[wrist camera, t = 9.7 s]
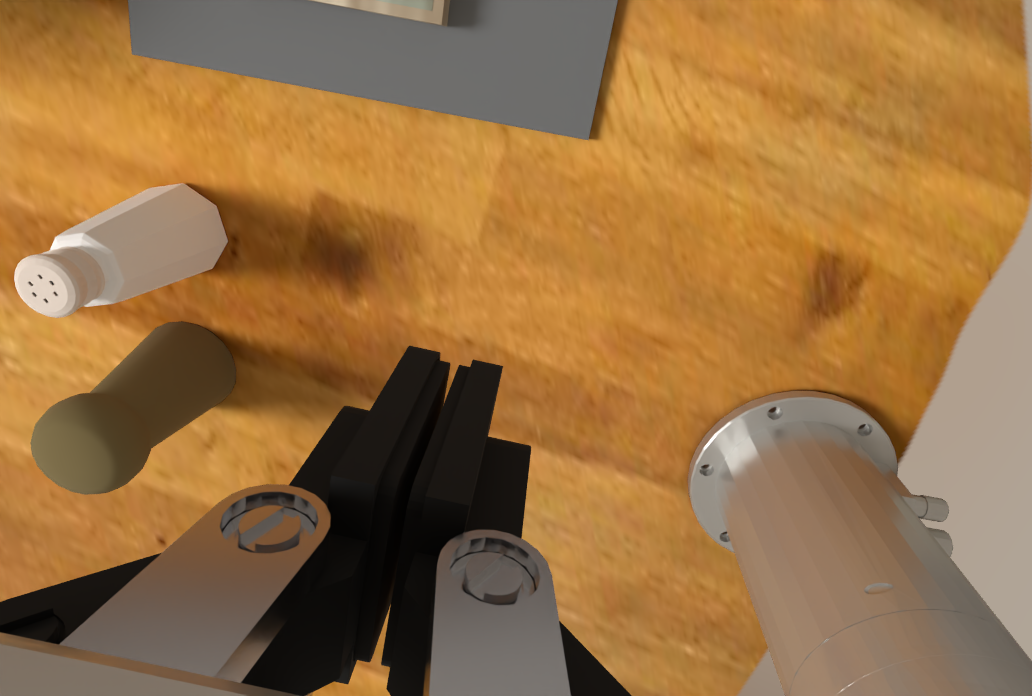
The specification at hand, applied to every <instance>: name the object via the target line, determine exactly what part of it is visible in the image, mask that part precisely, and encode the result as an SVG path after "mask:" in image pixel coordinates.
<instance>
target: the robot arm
mask: <svg viewBox="0 0 1032 696" xmlns="http://www.w3.org/2000/svg"><path fill="white" fill-rule="evenodd" d="M502 368H503V366H500V365H495V364H491V363H486V362H482V361H477V360H473V361H472V364H471V366H470V367H467V366H462V365H459V367H458V369H457V372H456V374H455V377H454V380H453V382H452V385H451V387H450V390H449V392H448V395H447V398H446V400H445V403H444V398H445V393H446V387H447V381H448V376H449V370H450V363H448V362H444V361H440V352H436V351H431V350H427V349H422V348H418V347H413V346H409V347H408V348H407V350H406V352H405V353H404V355H403V356H402V358H401V360H400V361H399V363H398V365H397V366H396V368H395V370H394V371H393V373H392V375H391V376H390V378H389V380H388V381H387V383H386V385H385V386H384V388H383V390H382V391H381V393H380V395H379V396H378V398H377V400H376V401H375V403H374V405H373V406H372V408H371V410H370V411H368V410H364V409H359V408H355V407H350V406H344V407H343V408H342V409H341V411H340V412H339V413H338V415H337V416H336V418H335V419H334V421H333V422H332V424H331V425H330V426H329V428H328V429H327V431H326V432H325V434H324V435H323V437H322V438H321V439H320V441H319V442H318V444H317V445H316V447H315V448H314V450H313V451H312V453H311V454H310V455H309V457H308V458H307V460H306V461H305V463H304V464H303V466H302V467H301V468H300V470H299V471H298V473H297V474H296V476H295V477H294V479H293V480H292V481H291V483H290V484H289V485H273V484H266V485H260V486H254V487H249V488H246V489H243V490H241V491H238V492H235V493H233V494H231V495H229V496H228V497H226V498H225V499H223V500H222V501H221V502H219V503H218V504H217V505H215V506H214V507H213V508H212V509H211V510H210V511H209V512H208V513H206V514H205V515H204V516H203V517H202V518H201V519H200V520H199V521H197V522H196V523H195V524H194V525H193V526H192V527H191V528H190V529H188V530H187V531H186V532H185V533H184V534H183V535H182V536H181V537H179V538H178V539H177V540H176V541H175V542H174V543H173V544H172V545H170V546H169V547H168V548H167V549H166V550H165V551H164V552H163V553H160V554H156V555H153V556H150V557H146V558H143V559H140V560H136V561H133V562H130V563H127V564H123V565H120V566H117V567H113V568H110V569H107V570H103V571H100V572H97V573H93V574H90V575H87V576H83V577H80V578H77V579H74V580H70V581H67V582H64V583H60V584H57V585H54V586H50V587H47V588H44V589H40V590H37V591H34V592H30V593H27V594H24V595H21V596H17V597H14V598H11V599H7V600H5V601H2V602H0V696H312V694H313V692H314V691H316V690H318V689H320V688H322V687H324V686H326V685H328V684H330V683H332V682H334V681H335V682H339V683H344V684H348V683H349V680H350V678H351V675H352V672H353V670H354V667H355V664H356V661H357V660H360V661H365V662H370V661H371V659H372V656H373V654H374V651H375V648H376V645H377V642H378V639H379V636H380V633H381V630H382V627H383V624H384V622H385V619H386V616H387V613H388V610H389V607H390V604H391V607H390V613H389V619H388V625H387V631H386V637H385V643H384V649H383V655H382V662H381V665H384V666H388V667H390V672H389V677H388V683H387V690H388V692H389V693H390V695H391V696H631V695H630V694H629V693H628V692H627V691H626V689H625V688H624V687H623V686H622V685H621V684H620V683H619V682H618V681H617V680H616V679H615V678H614V677H613V676H612V675H611V674H610V673H609V672H608V671H607V670H606V669H605V668H604V667H603V666H602V665H601V664H600V663H599V661H598V660H597V659H596V658H595V657H594V656H593V655H592V654H591V653H590V652H589V651H588V650H587V649H586V648H585V647H584V646H583V645H582V644H581V643H580V642H579V641H578V640H577V639H576V638H575V637H574V636H573V635H572V633H571V632H570V631H569V630H568V629H567V628H566V627H565V626H564V625H563V624H562V623H561V622H560V621H559V618H558V612H557V605H556V599H555V593H554V586H553V580H552V575H551V572H550V569H549V566H548V563H547V561H546V560H545V559H544V558H543V556H542V555H541V554H540V552H539V551H538V550H537V549H536V548H534V547H533V546H532V545H530V544H529V543H528V542H526V541H525V540H523V539H521V537H522V528H523V518H524V509H525V500H526V491H527V481H528V472H529V463H530V454H531V446H529V445H524V444H520V443H515V442H511V441H506V440H501V439H497V438H492V437H488V433H489V429H490V424H491V419H492V415H493V410H494V406H495V401H496V396H497V392H498V387H499V382H500V378H501V373H502ZM443 404H444V405H443ZM771 408H772V409H771ZM897 472H898V465H897V459H896V452H895V450H894V447H893V445H892V443H891V441H890V438H889V436H888V435H887V434H886V432H885V431H884V430H883V429H882V427H881V426H880V425H879V424H878V422H877V421H876V420H875V419H874V418H873V417H872V416H871V415H870V414H869V413H868V412H867V411H865V410H864V409H862V408H861V407H859V406H857V405H856V404H854V403H853V402H851V401H849V400H846V399H843V398H841V397H838V396H836V395H833V394H827V393H822V392H816V391H789V392H782V393H775V394H771V395H768V396H764V397H761V398H758V399H755V400H752V401H750V402H748V403H746V404H744V405H742V406H740V407H738V408H736V409H734V410H733V411H732V412H730V413H729V414H728V415H726V416H725V417H723V418H722V419H721V420H719V421H718V422H717V423H716V424H715V425H714V426H713V427H712V428H711V429H710V430H709V431H708V433H707V434H706V435H705V436H704V438H703V439H702V441H701V442H700V444H699V445H698V447H697V448H696V451H695V453H694V456H693V458H692V461H691V463H690V469H689V475H688V491H689V497H690V500H691V504H692V508H693V511H694V513H695V515H696V517H697V519H698V522H699V523H700V525H701V526H702V527H703V529H704V530H705V531H706V533H707V534H708V535H709V536H710V537H711V538H712V539H713V540H714V541H716V542H717V543H718V544H719V545H721V546H723V547H724V548H726V549H728V550H730V551H731V552H733V553H735V555H736V558H737V561H738V564H739V567H740V569H741V572H742V575H743V578H744V581H745V584H746V586H747V589H748V592H749V595H750V598H751V600H752V603H753V606H754V609H755V612H756V615H757V617H758V620H759V623H760V626H761V629H762V632H763V634H764V637H765V640H766V643H767V646H768V648H769V651H770V654H771V657H772V660H773V662H774V665H775V668H776V671H777V674H778V676H779V679H780V682H781V685H782V688H783V691H784V694H785V696H1032V661H1031V659H1030V658H1029V657H1028V656H1027V654H1026V653H1025V652H1024V651H1023V649H1022V648H1021V647H1020V646H1019V644H1018V643H1017V642H1016V641H1015V639H1014V638H1013V637H1012V635H1011V634H1010V633H1009V632H1008V630H1007V629H1006V628H1005V627H1004V625H1003V624H1002V623H1001V621H1000V620H999V619H998V618H997V616H996V615H995V614H994V613H993V611H992V610H991V609H990V608H989V606H988V605H987V604H986V602H985V601H984V600H983V599H982V598H981V596H980V595H979V594H978V592H977V591H976V590H975V588H974V587H973V586H972V585H971V584H970V582H969V581H968V580H967V578H966V577H965V576H964V575H963V573H962V572H961V571H960V569H959V568H958V567H957V566H956V564H955V563H954V562H953V561H952V559H951V558H950V556H951V554H952V550H953V546H952V540H951V538H950V536H949V534H948V533H947V532H945V531H943V530H938V529H932V528H927V527H926V526H925V525H924V524H923V523H922V521H921V520H920V519H919V518H921V519H926V520H932V521H938V522H942V521H944V520H945V519H946V518H947V516H948V513H949V509H948V505H947V503H946V501H944V500H943V499H939V498H934V497H929V496H923V495H920V496H917V495H912V494H911V493H910V492H909V491H908V489H907V488H906V487H905V486H904V485H903V483H902V482H901V481H900V480H899V478H898V477H897Z"/></svg>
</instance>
